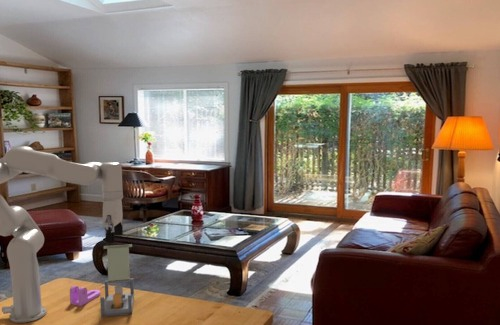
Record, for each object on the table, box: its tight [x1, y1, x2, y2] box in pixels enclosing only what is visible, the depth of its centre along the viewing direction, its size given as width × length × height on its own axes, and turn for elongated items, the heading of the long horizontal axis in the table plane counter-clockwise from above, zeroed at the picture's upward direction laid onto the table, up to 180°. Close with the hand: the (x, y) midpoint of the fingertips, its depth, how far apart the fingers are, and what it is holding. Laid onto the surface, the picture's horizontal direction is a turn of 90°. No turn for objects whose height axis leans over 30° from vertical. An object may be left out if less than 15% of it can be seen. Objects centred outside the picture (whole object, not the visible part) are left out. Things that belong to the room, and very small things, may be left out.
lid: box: [103, 243, 133, 284], centre depth 181 cm, size 11×15×1 cm
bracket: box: [69, 285, 101, 307], centre depth 183 cm, size 13×6×7 cm, turn 158°
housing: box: [99, 277, 135, 318], centre depth 175 cm, size 11×15×8 cm
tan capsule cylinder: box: [112, 293, 122, 309], centre depth 171 cm, size 3×3×6 cm
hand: (114, 238), depth 170 cm, fingers open, 9 cm apart
